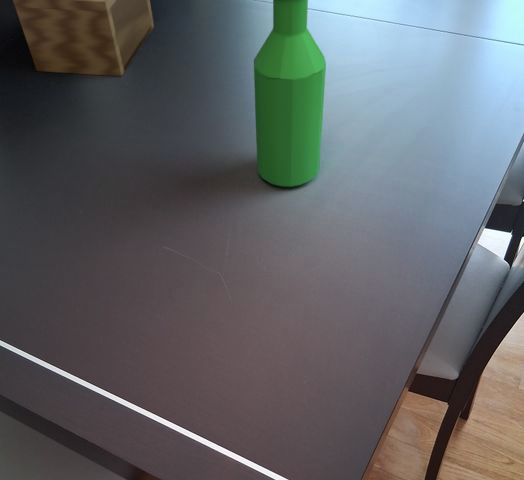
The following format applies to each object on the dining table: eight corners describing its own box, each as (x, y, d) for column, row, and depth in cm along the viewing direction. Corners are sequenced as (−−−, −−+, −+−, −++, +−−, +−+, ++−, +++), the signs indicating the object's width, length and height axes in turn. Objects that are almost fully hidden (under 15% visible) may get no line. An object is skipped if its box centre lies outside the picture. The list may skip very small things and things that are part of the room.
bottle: (253, 189, 79) (244, -12, 59) (261, 153, 84) (255, -42, 64) (317, 192, 78) (329, -10, 58) (320, 156, 83) (333, -41, 64)
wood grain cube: (36, 71, 102) (11, -3, 92) (77, 22, 114) (59, -47, 104) (121, 76, 100) (105, 1, 90) (154, 26, 112) (142, -44, 102)
